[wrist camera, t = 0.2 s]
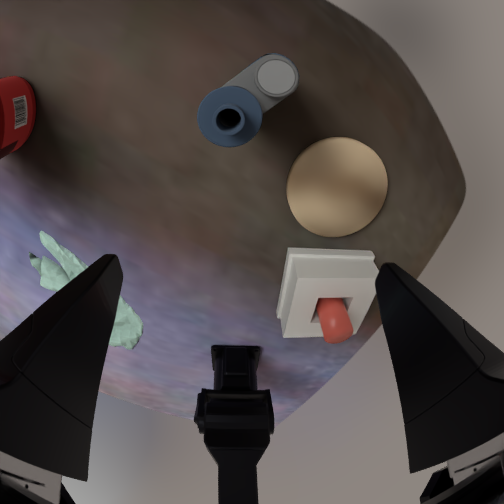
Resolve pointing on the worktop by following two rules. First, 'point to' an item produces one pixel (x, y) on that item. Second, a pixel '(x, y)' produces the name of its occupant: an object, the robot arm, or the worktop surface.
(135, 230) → the worktop surface
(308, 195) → the coaster
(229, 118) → the vaping device
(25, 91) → the canned food
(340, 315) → the button
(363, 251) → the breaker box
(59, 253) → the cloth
